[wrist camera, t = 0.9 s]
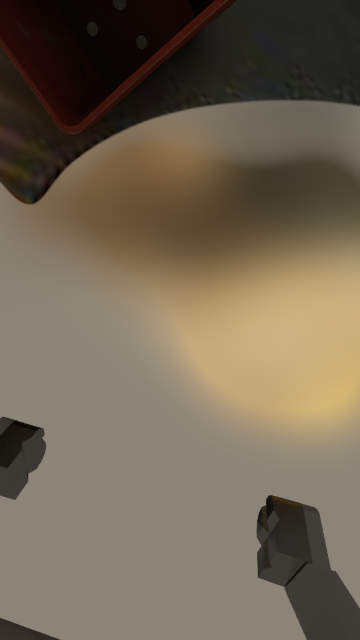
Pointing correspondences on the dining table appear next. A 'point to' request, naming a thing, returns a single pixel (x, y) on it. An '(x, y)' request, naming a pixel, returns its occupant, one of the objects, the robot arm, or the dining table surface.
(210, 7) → the plant pot
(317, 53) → the dining table surface
